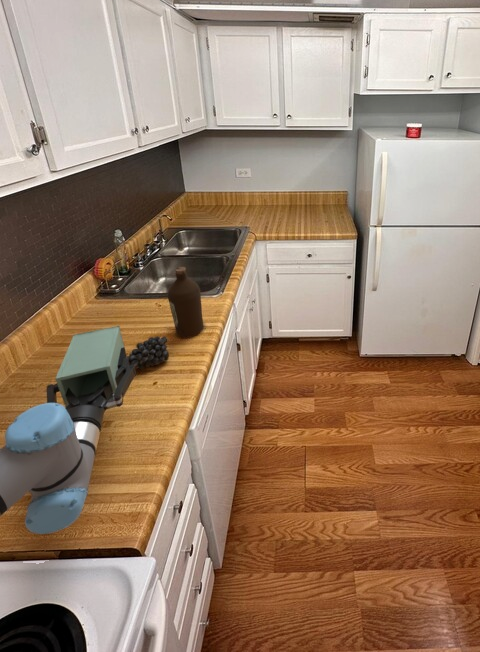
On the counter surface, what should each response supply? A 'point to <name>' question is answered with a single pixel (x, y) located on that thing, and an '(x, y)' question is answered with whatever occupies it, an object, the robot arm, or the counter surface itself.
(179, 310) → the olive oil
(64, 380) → the open box
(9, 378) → the counter surface
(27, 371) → the counter surface
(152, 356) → the fruit
